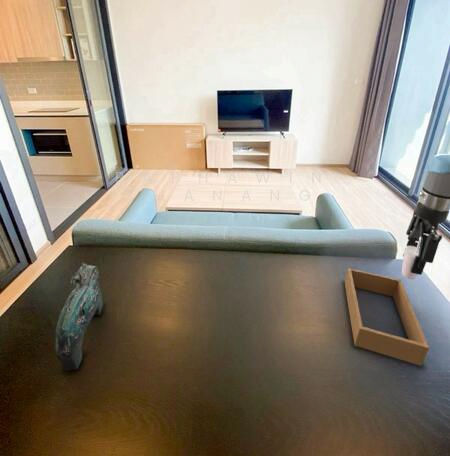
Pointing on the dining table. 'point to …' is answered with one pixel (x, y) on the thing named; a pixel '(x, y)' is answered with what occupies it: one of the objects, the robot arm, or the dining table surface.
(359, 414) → the dining table surface
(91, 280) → the dark teal curved piece
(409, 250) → the smoothie
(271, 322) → the dining table surface
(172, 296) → the dining table surface
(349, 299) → the wooden box
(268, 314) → the dining table surface
